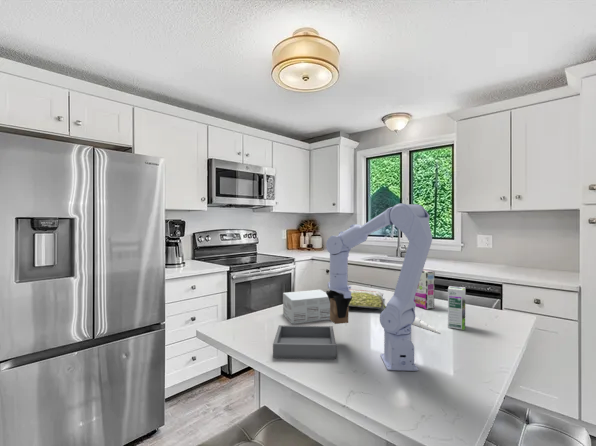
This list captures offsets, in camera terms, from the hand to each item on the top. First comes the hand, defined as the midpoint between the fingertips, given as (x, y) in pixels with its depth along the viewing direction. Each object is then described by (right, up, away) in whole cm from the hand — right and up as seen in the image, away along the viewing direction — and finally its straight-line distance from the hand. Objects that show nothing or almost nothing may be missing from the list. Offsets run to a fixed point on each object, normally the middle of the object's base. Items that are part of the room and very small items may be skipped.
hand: (338, 315), depth 106 cm
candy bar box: (+42, -8, +42) cm, 60 cm away
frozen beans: (+16, -8, +45) cm, 49 cm away
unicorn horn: (+31, -9, +19) cm, 37 cm away
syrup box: (+45, -9, +15) cm, 48 cm away
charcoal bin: (-11, -9, -4) cm, 15 cm away
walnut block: (0, -2, 0) cm, 2 cm away
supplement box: (-9, -9, +27) cm, 30 cm away
